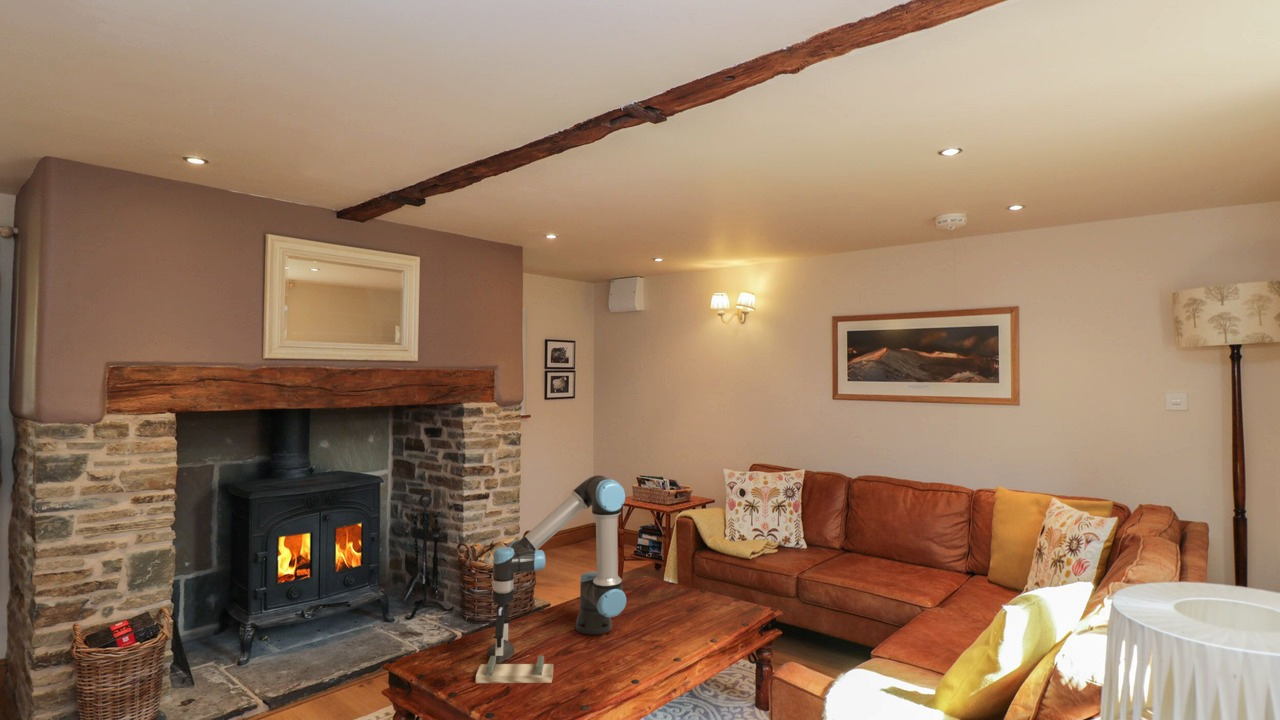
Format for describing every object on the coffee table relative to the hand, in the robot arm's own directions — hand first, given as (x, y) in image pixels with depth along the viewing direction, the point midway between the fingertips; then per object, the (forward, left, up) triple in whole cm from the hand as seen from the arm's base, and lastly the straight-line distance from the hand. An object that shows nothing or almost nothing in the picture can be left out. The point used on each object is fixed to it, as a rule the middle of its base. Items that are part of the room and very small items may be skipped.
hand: (501, 648), depth 254 cm
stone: (+1, 0, -4) cm, 4 cm away
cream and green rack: (-7, +15, -4) cm, 17 cm away
